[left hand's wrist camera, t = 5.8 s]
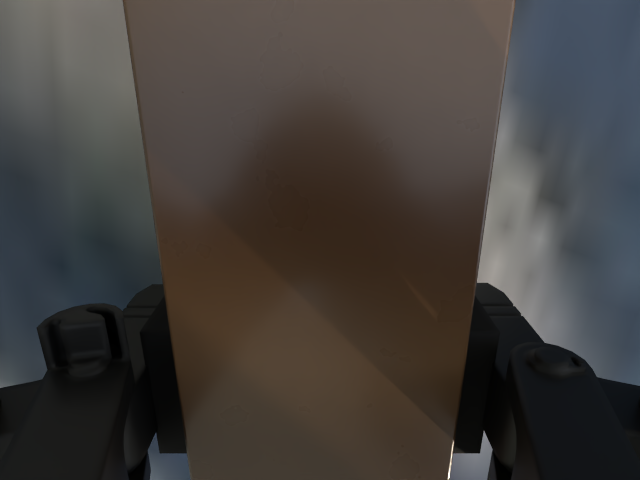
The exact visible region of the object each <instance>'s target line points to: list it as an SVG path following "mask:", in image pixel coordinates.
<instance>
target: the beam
mask: <svg viewBox="0 0 640 480" xmlns="http://www.w3.org/2000/svg"><path fill="white" fill-rule="evenodd" d="M515 1H516V0H123V5H124V13H125V20H126V27H127V34H128V41H129V48H130V55H131V62H132V69H133V76H134V83H135V90H136V97H137V104H138V111H139V118H140V125H141V132H142V139H143V146H144V153H145V160H146V167H147V174H148V182H149V189H150V196H151V203H152V210H153V217H154V224H155V231H156V238H157V245H158V252H159V259H160V266H161V273H162V280H163V287H164V294H165V301H166V308H167V315H168V322H169V329H170V336H171V344H172V351H173V358H174V365H175V372H176V379H177V386H178V393H179V400H180V407H181V414H182V421H183V428H184V435H185V442H186V449H187V456H188V463H189V470H190V477H191V480H449V479H450V471H451V464H452V457H453V450H454V442H455V435H456V428H457V421H458V413H459V406H460V399H461V392H462V385H463V377H464V370H465V363H466V356H467V348H468V341H469V334H470V327H471V319H472V312H473V305H474V298H475V290H476V283H477V276H478V269H479V261H480V254H481V247H482V240H483V233H484V225H485V218H486V211H487V204H488V196H489V189H490V182H491V175H492V167H493V160H494V153H495V146H496V138H497V131H498V124H499V117H500V109H501V102H502V95H503V88H504V80H505V73H506V66H507V59H508V52H509V44H510V37H511V30H512V23H513V15H514V8H515Z"/></svg>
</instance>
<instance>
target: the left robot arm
mask: <svg viewBox="0 0 640 480" xmlns="http://www.w3.org/2000/svg"><path fill="white" fill-rule="evenodd" d="M37 331H38V335H39V339H40V343H41V347H42V350H43V354H44V358H45V362H46V366H47V369H48V370H47V372H46V374H45V376H44V378H43V379H42V380H38V381H34V382H29V383H24V384H19V385H14V386H9V387H4V388H0V480H150V473H151V469H150V462H149V456H148V448H149V446H150V444H151V441H152V439H153V437H154V435H155V433H157V439H158V445H159V451H160V453H187V449H186V442H185V435H184V428H183V421H182V414H181V407H180V400H179V393H178V386H177V379H176V372H175V365H174V358H173V351H172V344H171V336H170V329H169V322H168V315H167V308H166V301H165V294H164V287H163V284H152V285H151V286H149V287H147V288H146V289H144V290H142V291H141V292H139V293H137V294H136V295H135V296H134V297H133V299H132V300H131V301H130V302H129V304H128V305H127V308H125V309H124V310H123V311H122V310H120V309H119V308H118V307H116V306H114V305H109V304H86V305H81V306H75V307H72V308H69V309H66V310H63V311H60V312H58V313H56V314H54V315H52V316H50V317H49V318H47V319H45V320H44V321H43V322H42V323H41V324H40V325H39V326H38V327H37ZM483 431H485V433H486V436H487V438H488V440H489V442H490V444H491V447H492V449H493V450H492V456H491V461H490V467H489V473H488V478H487V480H640V386H637V385H632V384H627V383H621V382H616V381H611V380H606V379H602V378H598V377H596V375H595V373H594V371H593V369H592V368H591V367H590V366H589V364H588V363H587V362H586V361H585V360H584V359H582V358H581V357H579V356H578V355H576V354H575V353H573V352H572V351H569V350H567V349H564V348H562V347H559V346H556V345H552V344H547V343H544V341H543V340H542V339H541V338H540V337H539V335H538V334H537V333H536V332H535V330H534V329H533V328H532V327H531V325H530V324H529V323H528V322H527V321H526V319H525V318H524V317H523V316H521V313H520V312H519V311H518V310H517V308H516V307H515V306H513V303H512V302H511V301H510V300H509V298H508V297H507V296H506V295H505V294H504V293H503V292H502V291H500V290H498V289H497V288H495V287H493V286H492V285H490V284H488V283H476V290H475V298H474V305H473V312H472V319H471V327H470V334H469V341H468V348H467V356H466V363H465V370H464V377H463V385H462V392H461V399H460V406H459V413H458V421H457V428H456V435H455V442H454V450H453V453H480V449H481V443H482V437H483Z"/></svg>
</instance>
